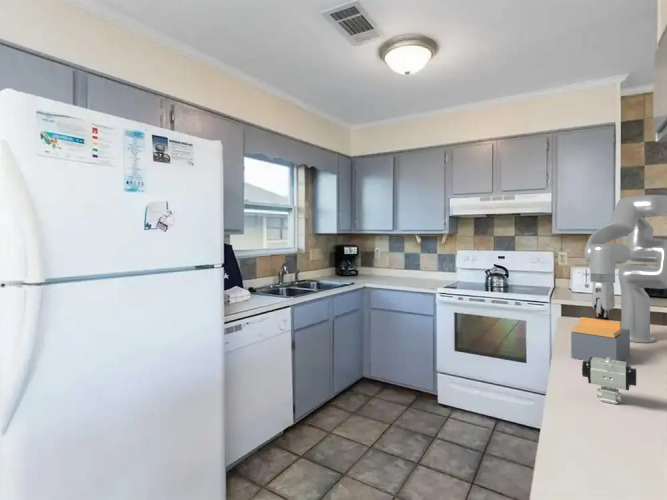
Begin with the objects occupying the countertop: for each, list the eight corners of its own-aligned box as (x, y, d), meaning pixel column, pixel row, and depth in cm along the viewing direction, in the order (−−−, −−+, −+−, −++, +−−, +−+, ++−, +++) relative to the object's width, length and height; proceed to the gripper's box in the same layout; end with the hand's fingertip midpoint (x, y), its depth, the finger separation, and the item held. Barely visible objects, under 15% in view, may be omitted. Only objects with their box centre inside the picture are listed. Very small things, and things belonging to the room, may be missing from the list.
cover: (581, 327, 146) (581, 316, 146) (621, 332, 137) (621, 321, 136) (573, 331, 140) (573, 320, 140) (614, 337, 131) (614, 326, 131)
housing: (587, 347, 152) (587, 323, 152) (629, 355, 142) (629, 329, 142) (571, 357, 141) (571, 332, 141) (616, 366, 131) (616, 338, 130)
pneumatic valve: (584, 393, 110) (584, 351, 110) (636, 403, 103) (636, 359, 102) (581, 399, 106) (581, 356, 105) (635, 411, 98) (635, 364, 98)
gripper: (608, 281, 135) (608, 333, 135) (620, 277, 144) (620, 325, 145) (584, 279, 140) (584, 329, 141) (597, 276, 150) (597, 322, 151)
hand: (602, 327), depth 143 cm, fingers closed
